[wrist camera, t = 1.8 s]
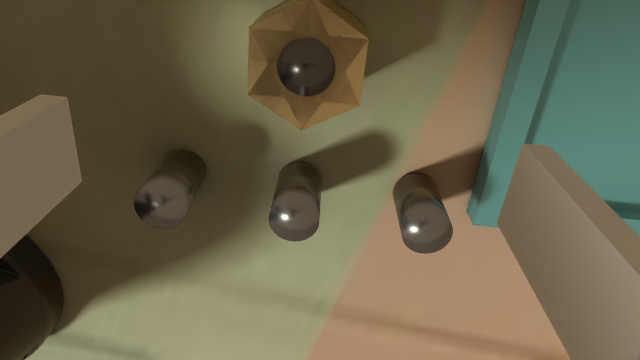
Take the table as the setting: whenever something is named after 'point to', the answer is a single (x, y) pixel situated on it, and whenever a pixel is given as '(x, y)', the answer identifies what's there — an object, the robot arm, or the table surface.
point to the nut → (307, 61)
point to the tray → (569, 103)
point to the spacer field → (294, 202)
